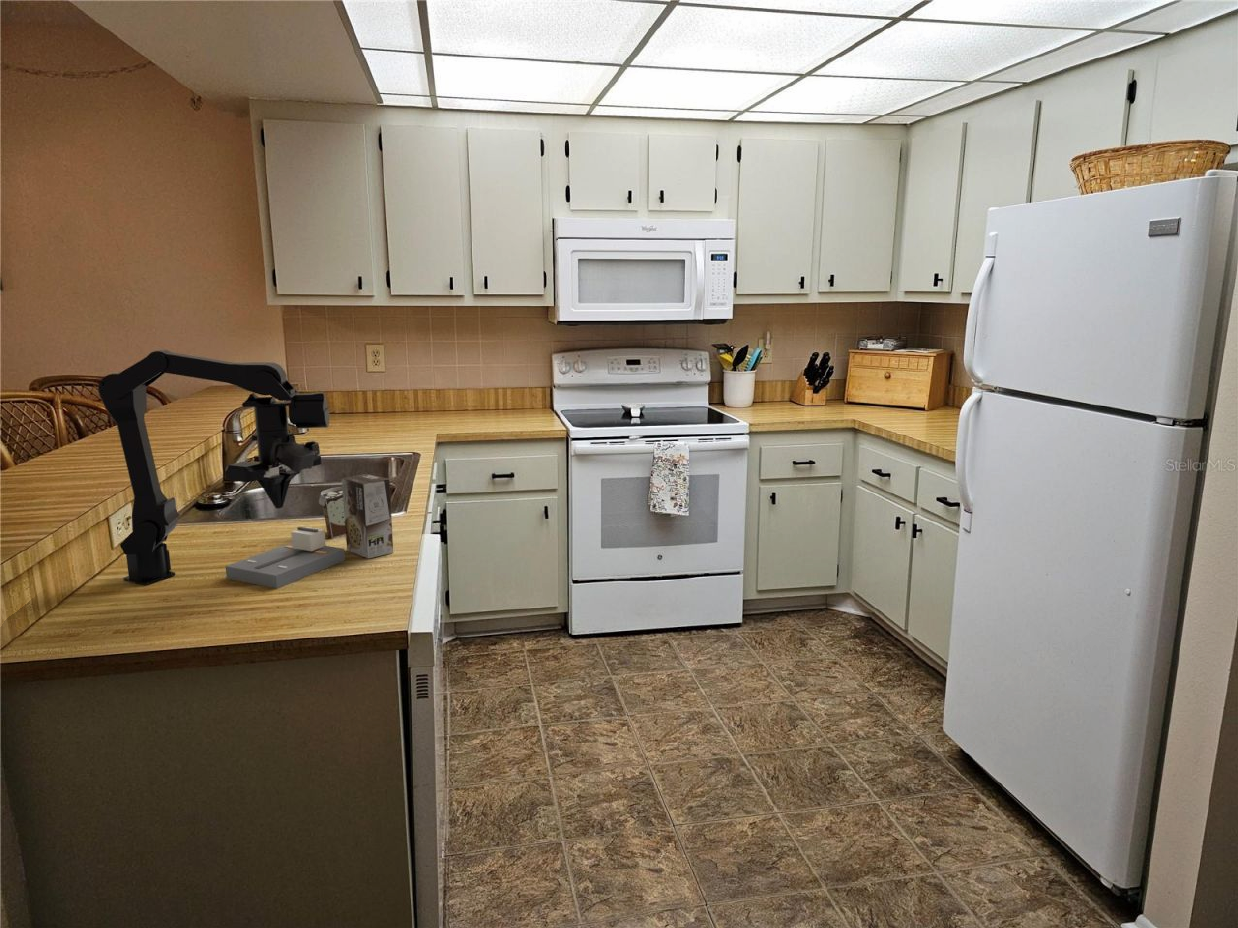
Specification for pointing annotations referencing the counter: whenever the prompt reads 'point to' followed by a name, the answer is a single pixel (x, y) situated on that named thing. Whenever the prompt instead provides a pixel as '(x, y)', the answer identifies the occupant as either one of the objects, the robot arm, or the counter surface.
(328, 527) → the food container
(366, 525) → the coffee box
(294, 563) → the fader console
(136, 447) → the robot arm
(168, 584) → the counter surface
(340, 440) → the counter surface
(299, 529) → the fader tab
